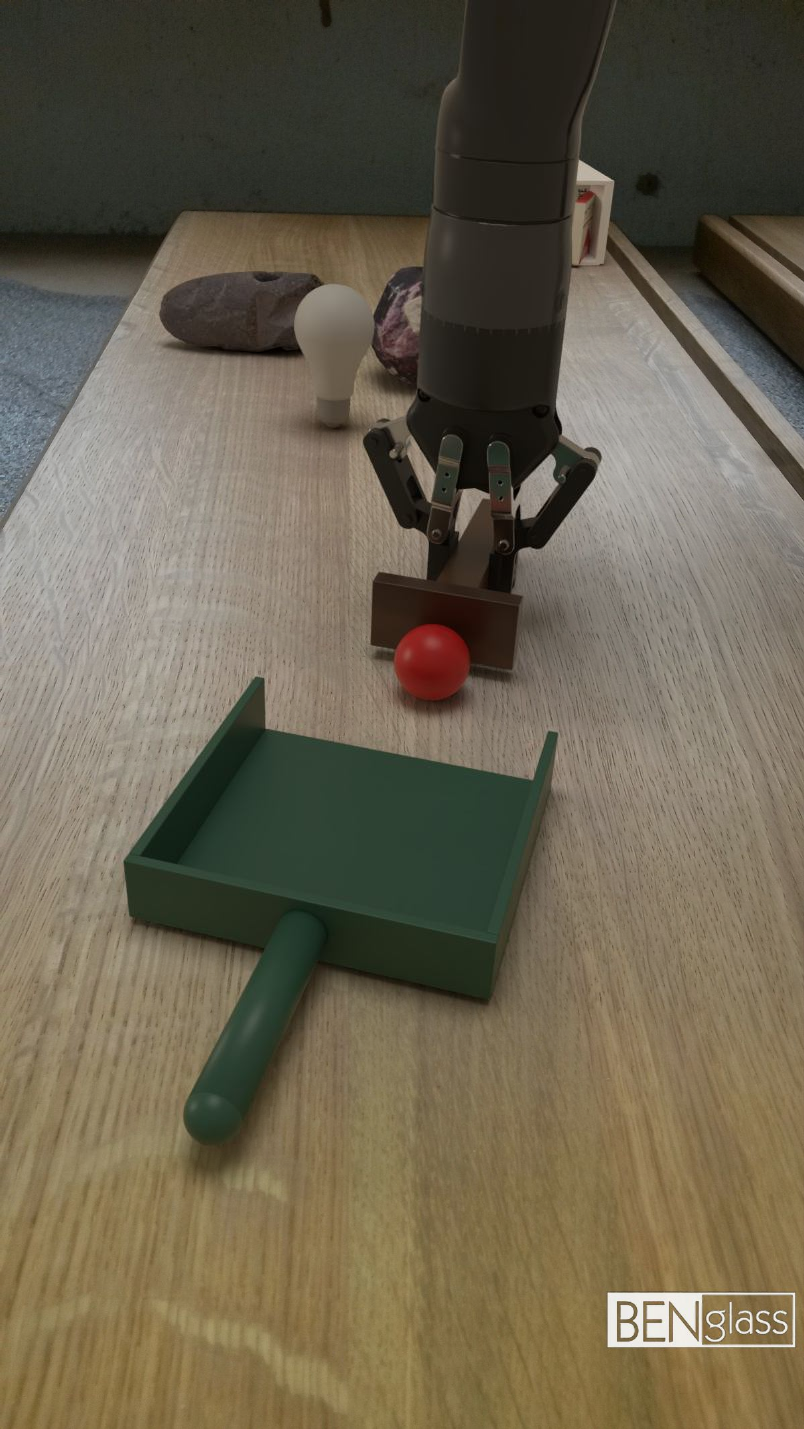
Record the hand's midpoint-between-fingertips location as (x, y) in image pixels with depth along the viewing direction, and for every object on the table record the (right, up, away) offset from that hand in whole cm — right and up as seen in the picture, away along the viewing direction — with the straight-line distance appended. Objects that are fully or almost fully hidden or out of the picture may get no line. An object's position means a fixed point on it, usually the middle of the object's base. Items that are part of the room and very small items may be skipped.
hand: (469, 597), depth 72 cm
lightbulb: (-9, +16, +25) cm, 31 cm away
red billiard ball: (-2, -4, -8) cm, 10 cm away
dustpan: (-7, -16, -22) cm, 28 cm away
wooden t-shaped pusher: (0, 0, +1) cm, 1 cm away
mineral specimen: (-2, +23, +36) cm, 42 cm away
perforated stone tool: (-19, +27, +41) cm, 52 cm away
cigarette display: (+16, +51, +80) cm, 96 cm away
